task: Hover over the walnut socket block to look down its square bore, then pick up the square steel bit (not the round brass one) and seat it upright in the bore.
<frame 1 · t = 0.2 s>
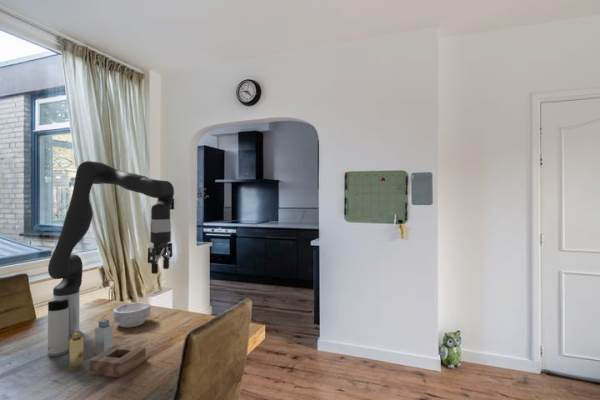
hand: (160, 271, 133), 29 cm above the table, tool pointing down, fingers open, 8 cm apart
paper bowls: (132, 324, 153), on the table
square bit: (103, 352, 125), on the table
travel mug: (58, 353, 124), on the table
round bit: (76, 368, 113), on the table
socket block: (118, 366, 115), on the table
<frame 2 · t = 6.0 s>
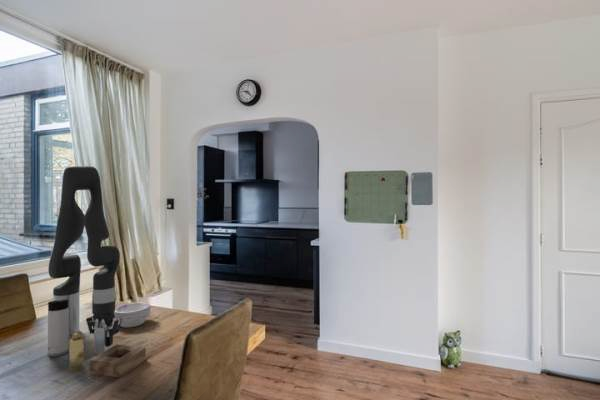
hand: (103, 345, 125), 3 cm above the table, tool pointing down, fingers closed on square bit, 4 cm apart
square bit: (103, 352, 125), on the table, touching gripper
everything else where it was.
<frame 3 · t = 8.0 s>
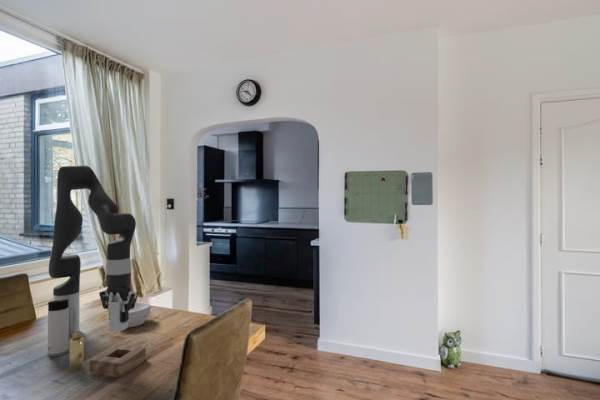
hand: (118, 321, 114), 16 cm above the table, tool pointing down, fingers closed on square bit, 4 cm apart
square bit: (118, 329, 114), point 13 cm above the table, touching gripper
everything else where it was.
when the fingers open (5 cm above the table, at t = 10.3 s): square bit drops 1 cm, resting on socket block.
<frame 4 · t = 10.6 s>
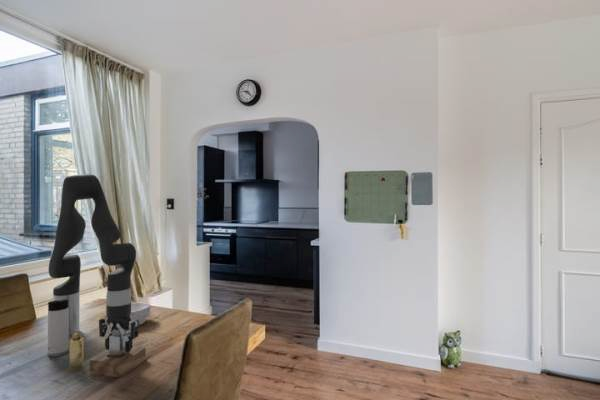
hand: (118, 349, 114), 6 cm above the table, tool pointing down, fingers open, 7 cm apart
square bit: (118, 363, 115), point 1 cm above the table, touching socket block
everything else where it was.
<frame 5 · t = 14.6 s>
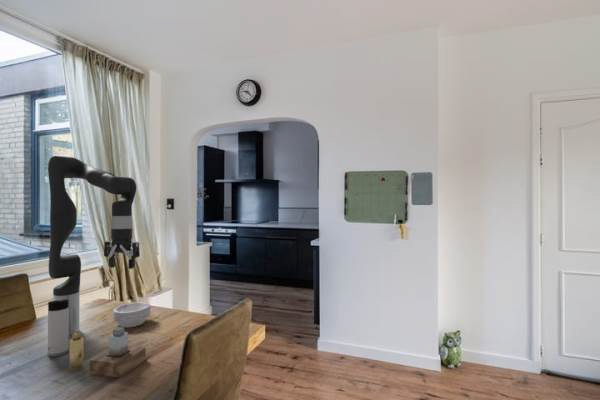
hand: (121, 267, 132), 30 cm above the table, tool pointing down, fingers open, 8 cm apart
nothing on the table moved.
at the end: square bit 0.0 cm off-centre on the socket block, point 1.1 cm above the socket block's base; square bit tilted 0°; the gripper is holding nothing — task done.
